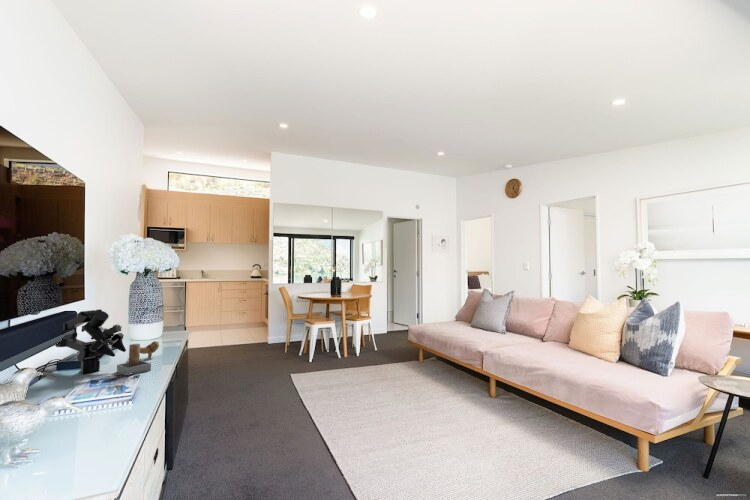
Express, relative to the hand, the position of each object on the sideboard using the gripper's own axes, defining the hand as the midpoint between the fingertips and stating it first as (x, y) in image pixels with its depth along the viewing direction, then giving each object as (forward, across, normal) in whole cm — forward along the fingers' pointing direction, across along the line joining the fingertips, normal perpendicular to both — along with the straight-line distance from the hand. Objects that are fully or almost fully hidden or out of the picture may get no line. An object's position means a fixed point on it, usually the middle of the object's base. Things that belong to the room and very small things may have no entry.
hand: (120, 353), depth 178 cm
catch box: (+11, 0, +1) cm, 11 cm away
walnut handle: (+11, 0, +1) cm, 11 cm away
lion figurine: (+6, +24, +6) cm, 26 cm away
